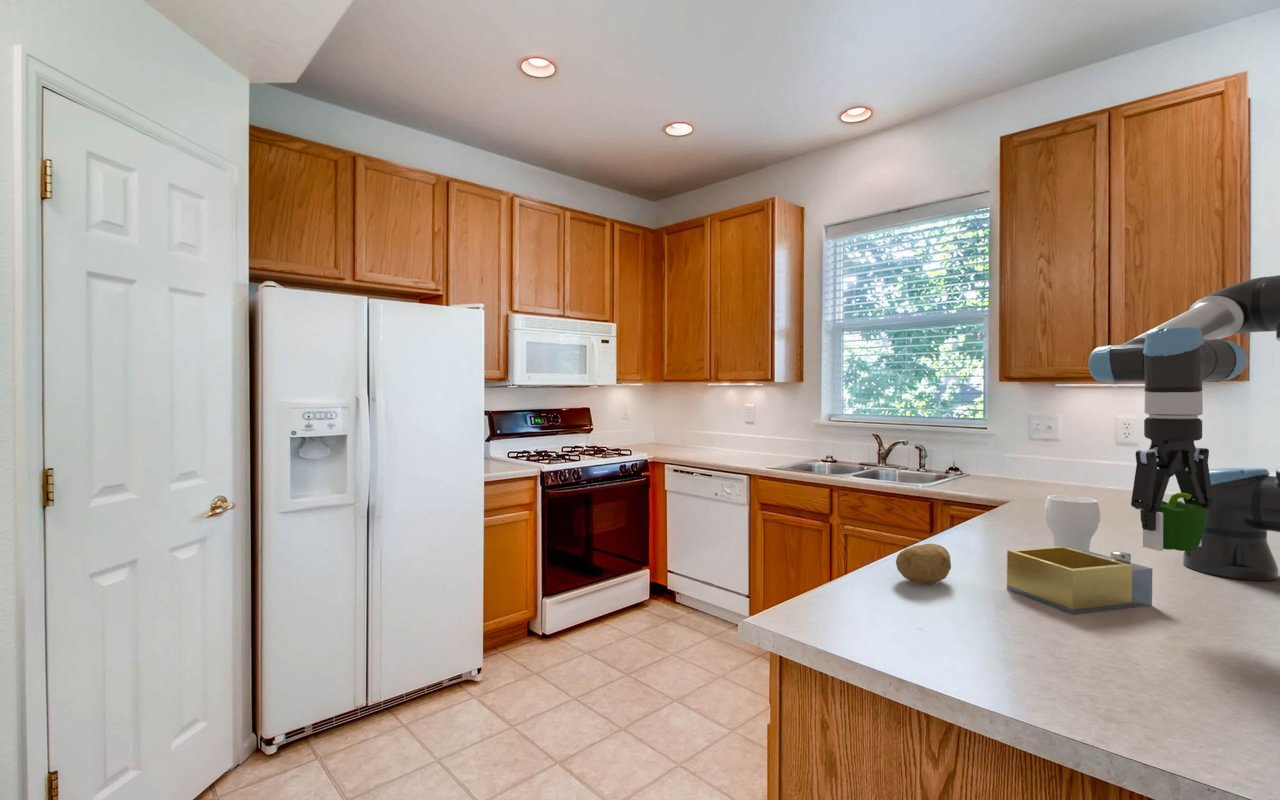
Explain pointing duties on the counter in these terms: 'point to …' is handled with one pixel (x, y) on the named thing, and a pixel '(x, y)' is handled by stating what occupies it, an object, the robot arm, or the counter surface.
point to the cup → (1072, 520)
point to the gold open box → (1079, 579)
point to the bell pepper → (1182, 523)
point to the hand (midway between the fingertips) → (1172, 546)
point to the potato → (924, 563)
